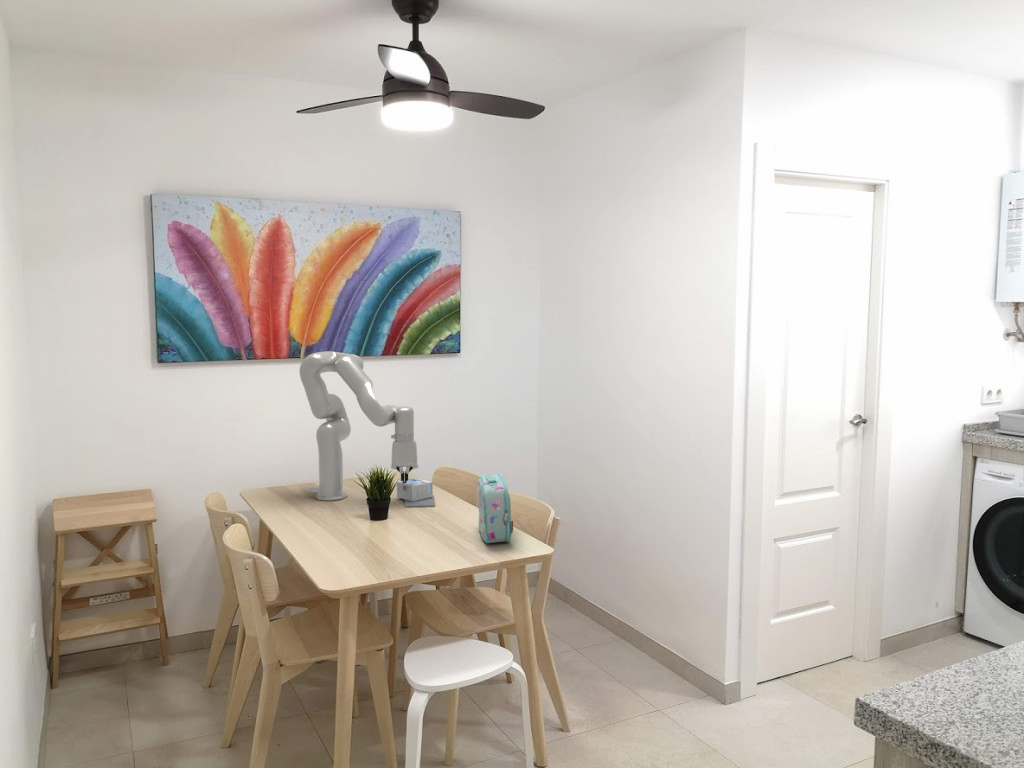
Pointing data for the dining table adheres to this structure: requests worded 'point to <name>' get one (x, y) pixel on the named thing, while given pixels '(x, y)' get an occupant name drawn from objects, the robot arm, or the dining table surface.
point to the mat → (421, 502)
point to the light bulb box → (414, 489)
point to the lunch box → (494, 509)
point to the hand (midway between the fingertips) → (404, 482)
